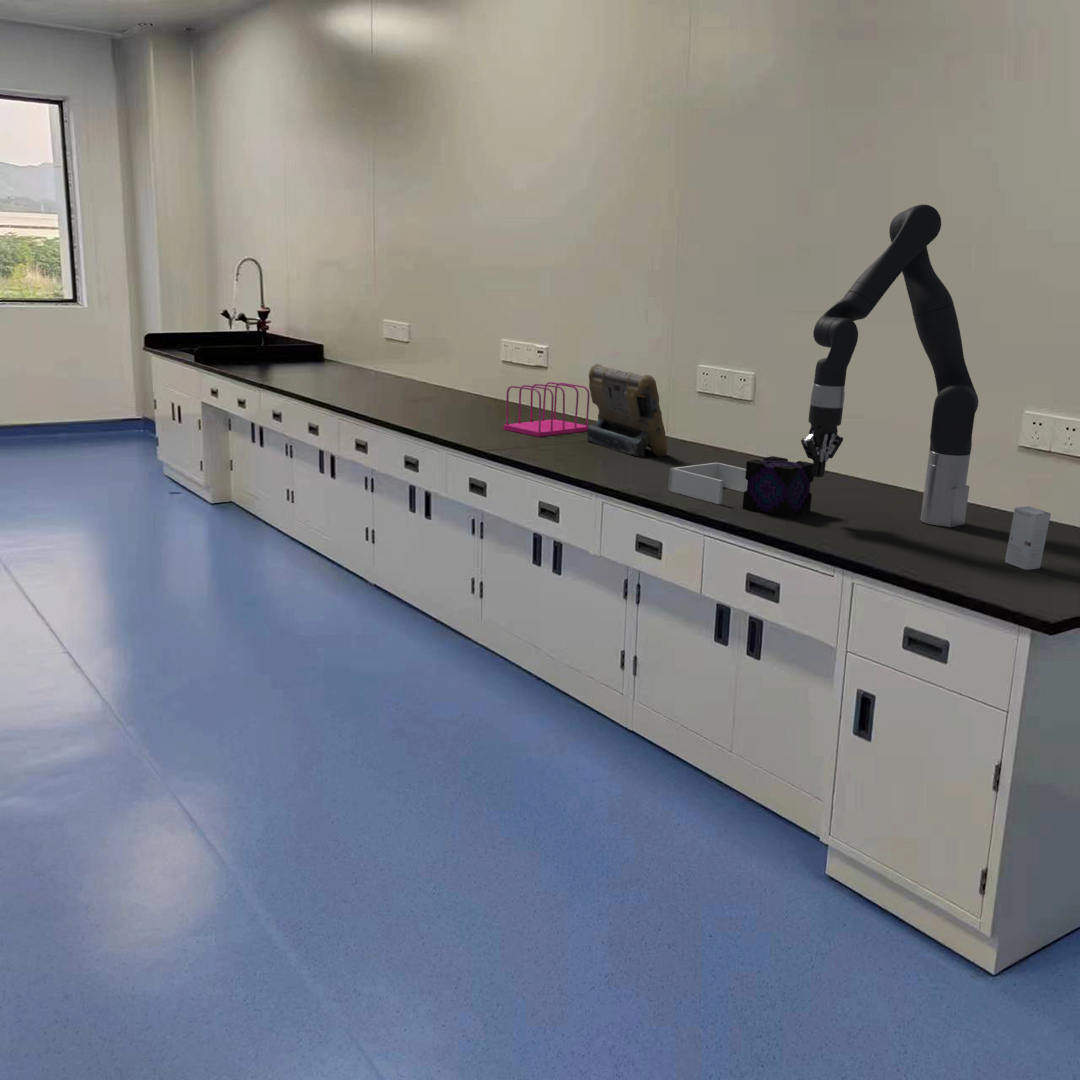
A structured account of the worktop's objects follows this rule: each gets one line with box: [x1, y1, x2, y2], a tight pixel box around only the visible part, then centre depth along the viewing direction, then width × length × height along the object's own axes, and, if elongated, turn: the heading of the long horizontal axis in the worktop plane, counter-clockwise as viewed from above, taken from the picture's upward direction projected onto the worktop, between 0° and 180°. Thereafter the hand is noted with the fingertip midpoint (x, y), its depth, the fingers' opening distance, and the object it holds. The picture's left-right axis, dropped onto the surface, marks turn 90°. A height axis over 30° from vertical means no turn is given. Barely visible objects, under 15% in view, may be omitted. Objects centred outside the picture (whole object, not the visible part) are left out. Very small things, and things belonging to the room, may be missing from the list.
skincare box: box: [1004, 505, 1052, 571], centre depth 233 cm, size 6×4×12 cm
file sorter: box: [503, 381, 591, 438], centre depth 379 cm, size 17×25×16 cm
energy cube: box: [742, 455, 815, 519], centre depth 275 cm, size 12×12×12 cm
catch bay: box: [667, 461, 748, 505], centre depth 291 cm, size 18×18×6 cm
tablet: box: [586, 363, 668, 458], centre depth 350 cm, size 33×14×25 cm, turn 35°
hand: (817, 476), depth 265 cm, fingers closed
